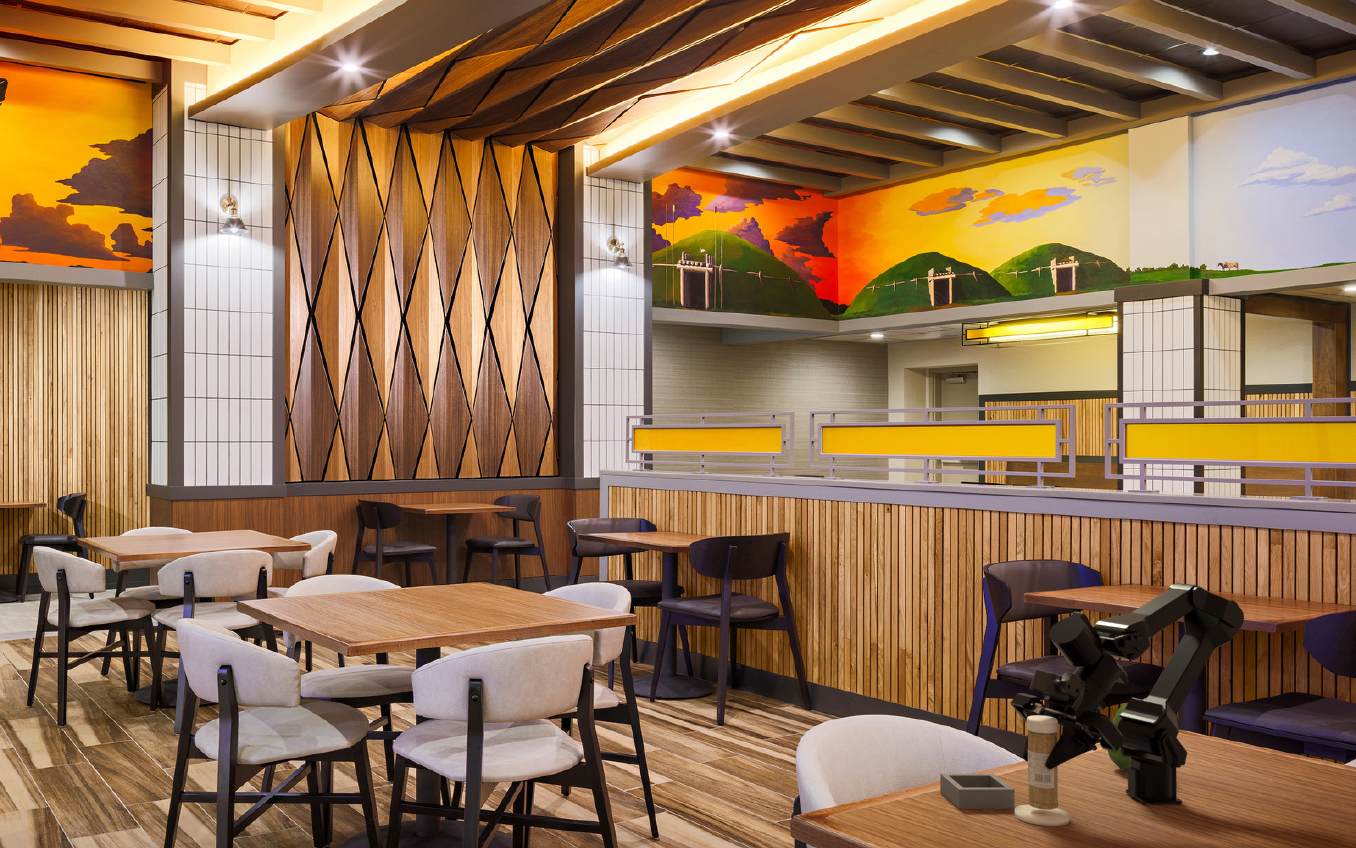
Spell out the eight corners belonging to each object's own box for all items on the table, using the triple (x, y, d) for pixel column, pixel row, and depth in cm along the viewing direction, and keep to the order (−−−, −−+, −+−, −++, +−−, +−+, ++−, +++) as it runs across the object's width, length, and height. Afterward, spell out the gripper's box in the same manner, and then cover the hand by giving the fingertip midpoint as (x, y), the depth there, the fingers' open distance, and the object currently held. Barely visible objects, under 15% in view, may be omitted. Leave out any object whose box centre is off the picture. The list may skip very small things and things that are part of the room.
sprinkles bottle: (1062, 805, 162) (1062, 717, 163) (1052, 812, 159) (1052, 722, 159) (1032, 799, 165) (1032, 713, 166) (1022, 806, 161) (1022, 718, 162)
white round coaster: (1055, 809, 166) (1055, 804, 166) (1078, 826, 158) (1078, 820, 158) (1006, 809, 165) (1006, 804, 165) (1027, 826, 157) (1027, 820, 157)
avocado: (1135, 779, 185) (1135, 709, 185) (1097, 768, 192) (1097, 701, 192) (1164, 773, 189) (1163, 705, 189) (1126, 763, 195) (1125, 697, 196)
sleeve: (993, 792, 175) (993, 773, 175) (1014, 808, 166) (1014, 789, 166) (940, 792, 174) (940, 773, 174) (958, 809, 165) (958, 789, 165)
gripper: (1018, 643, 173) (965, 716, 168) (1107, 661, 156) (1051, 743, 151) (1055, 687, 176) (1004, 761, 171) (1147, 710, 159) (1093, 793, 154)
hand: (1035, 763), depth 162 cm, fingers closed on sprinkles bottle, 4 cm apart
